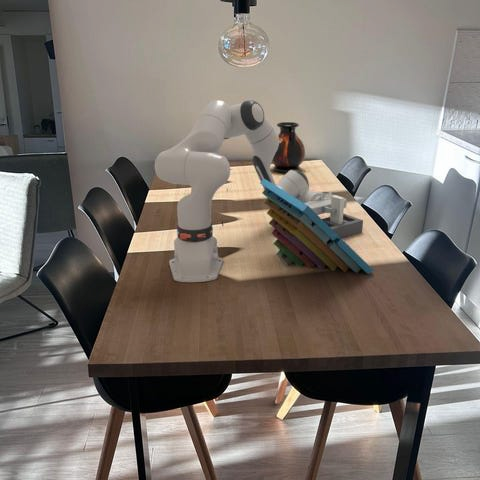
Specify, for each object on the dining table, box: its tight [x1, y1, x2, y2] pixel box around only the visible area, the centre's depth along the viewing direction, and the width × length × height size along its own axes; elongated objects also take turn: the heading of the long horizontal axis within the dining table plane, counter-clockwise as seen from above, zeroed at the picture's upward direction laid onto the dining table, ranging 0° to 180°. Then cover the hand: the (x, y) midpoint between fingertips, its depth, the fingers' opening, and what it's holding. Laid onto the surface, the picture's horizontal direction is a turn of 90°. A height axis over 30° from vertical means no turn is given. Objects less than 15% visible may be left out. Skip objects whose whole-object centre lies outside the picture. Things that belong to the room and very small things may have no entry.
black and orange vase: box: [271, 121, 306, 174], centre depth 292 cm, size 22×22×28 cm
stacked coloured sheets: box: [259, 179, 374, 276], centre depth 169 cm, size 35×18×35 cm
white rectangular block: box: [329, 194, 345, 225], centre depth 194 cm, size 5×2×12 cm, turn 35°
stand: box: [321, 213, 364, 239], centre depth 196 cm, size 11×19×5 cm, turn 125°
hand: (338, 210), depth 193 cm, fingers closed on white rectangular block, 2 cm apart
